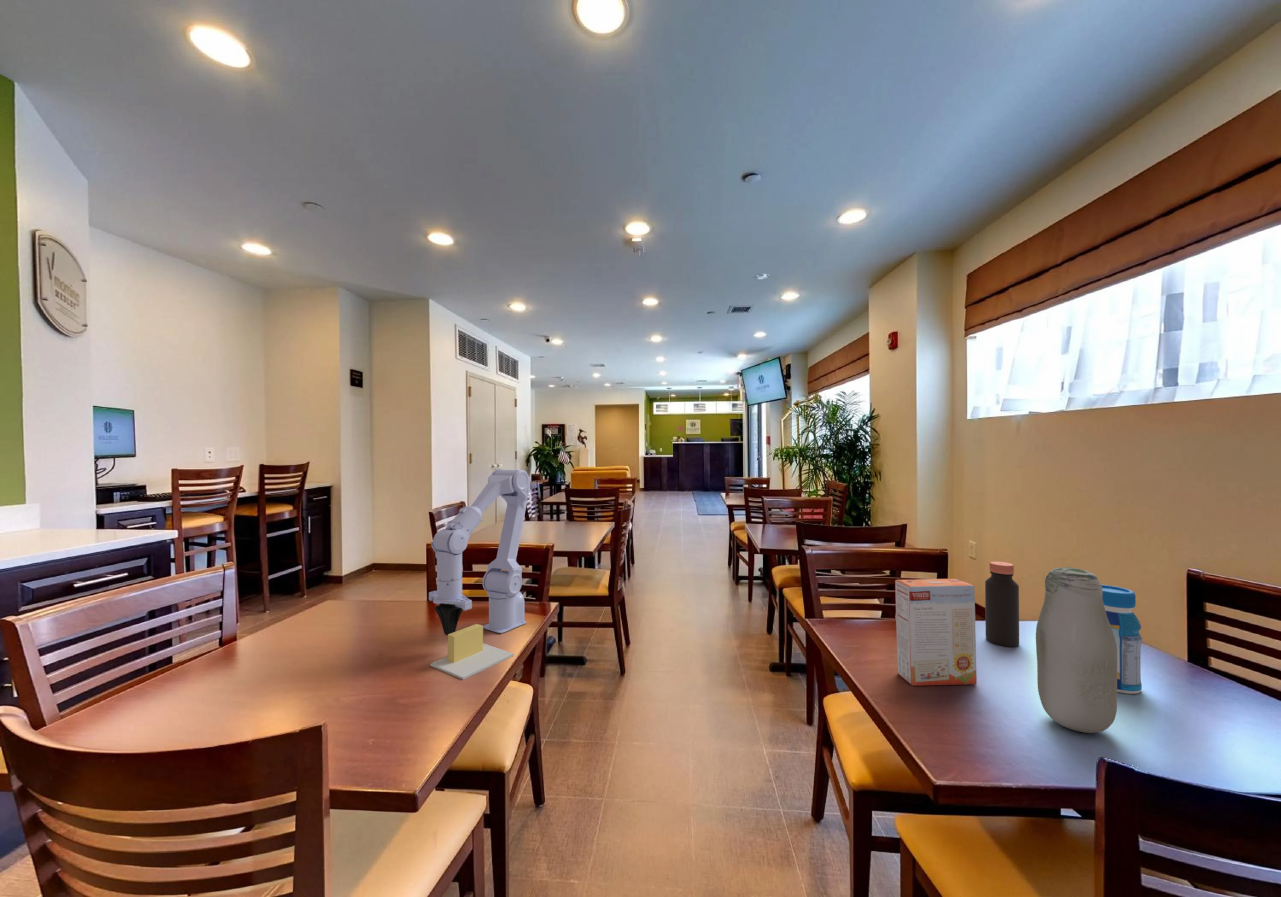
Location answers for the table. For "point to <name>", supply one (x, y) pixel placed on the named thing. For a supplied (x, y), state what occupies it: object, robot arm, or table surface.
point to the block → (465, 643)
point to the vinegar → (1002, 605)
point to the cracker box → (936, 631)
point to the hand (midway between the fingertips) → (449, 633)
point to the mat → (473, 662)
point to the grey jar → (1076, 652)
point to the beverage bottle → (1124, 636)
